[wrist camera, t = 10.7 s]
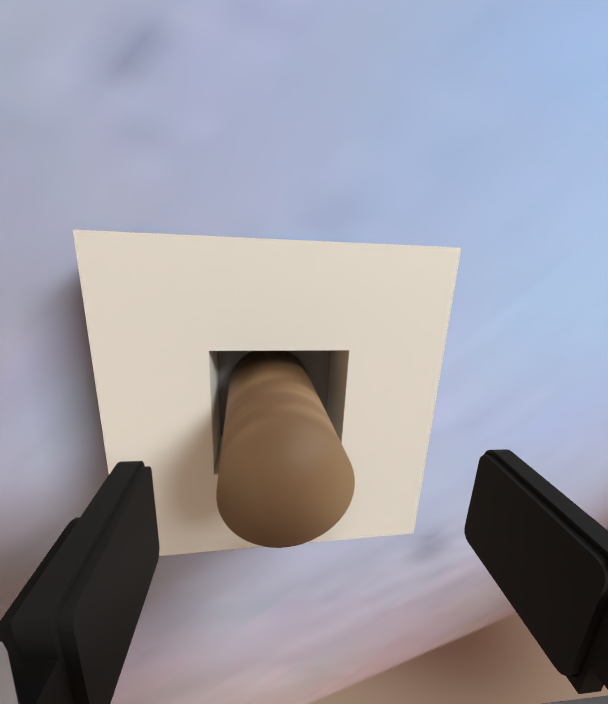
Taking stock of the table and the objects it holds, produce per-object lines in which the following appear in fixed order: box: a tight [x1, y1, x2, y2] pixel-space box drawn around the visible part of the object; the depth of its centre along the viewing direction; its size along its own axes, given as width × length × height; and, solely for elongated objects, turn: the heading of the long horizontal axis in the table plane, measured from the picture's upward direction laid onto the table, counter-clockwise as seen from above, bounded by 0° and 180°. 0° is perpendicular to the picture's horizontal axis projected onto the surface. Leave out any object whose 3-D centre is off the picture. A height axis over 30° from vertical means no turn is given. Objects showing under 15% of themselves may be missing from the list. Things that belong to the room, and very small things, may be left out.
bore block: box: [73, 230, 461, 556], centre depth 16 cm, size 14×14×4 cm
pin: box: [216, 351, 355, 548], centre depth 14 cm, size 4×4×8 cm
